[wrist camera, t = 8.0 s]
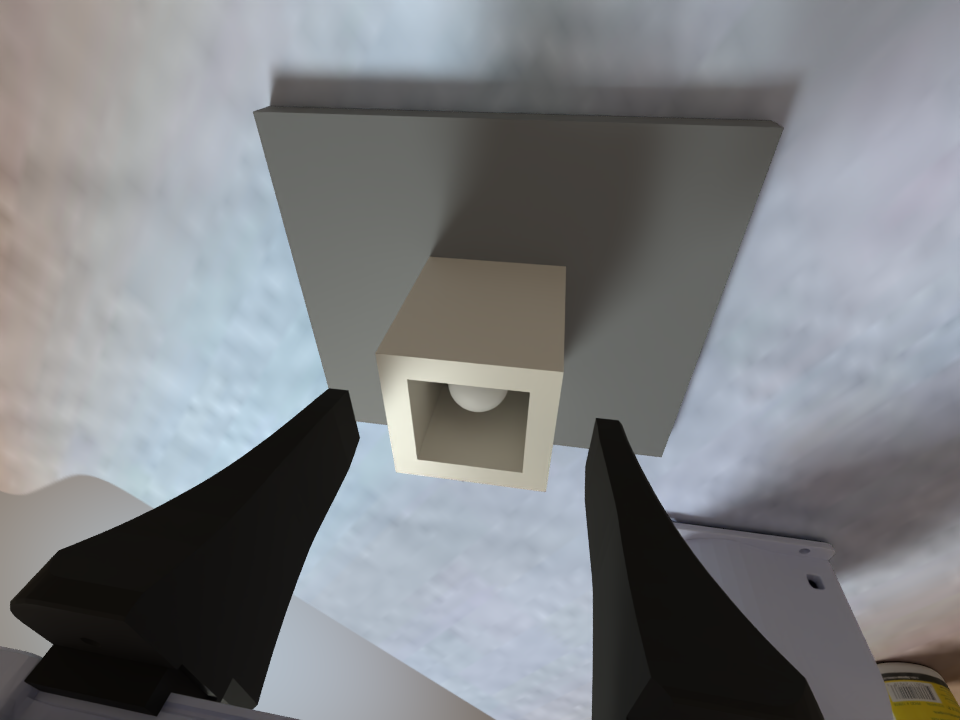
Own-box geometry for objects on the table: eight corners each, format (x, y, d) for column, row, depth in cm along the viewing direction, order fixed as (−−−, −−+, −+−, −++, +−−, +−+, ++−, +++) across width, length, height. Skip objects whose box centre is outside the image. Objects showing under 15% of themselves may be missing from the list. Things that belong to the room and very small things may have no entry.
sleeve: (566, 266, 16) (563, 372, 12) (552, 374, 19) (545, 492, 15) (429, 256, 17) (375, 353, 12) (437, 362, 20) (395, 472, 15)
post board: (771, 120, 14) (877, 182, 9) (658, 441, 22) (681, 558, 17) (269, 106, 16) (138, 150, 11) (344, 405, 24) (290, 502, 19)
